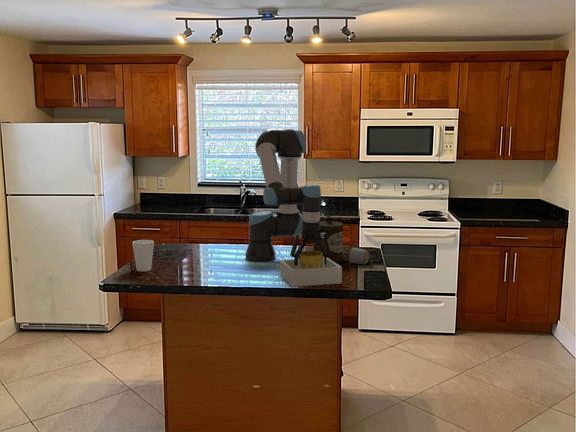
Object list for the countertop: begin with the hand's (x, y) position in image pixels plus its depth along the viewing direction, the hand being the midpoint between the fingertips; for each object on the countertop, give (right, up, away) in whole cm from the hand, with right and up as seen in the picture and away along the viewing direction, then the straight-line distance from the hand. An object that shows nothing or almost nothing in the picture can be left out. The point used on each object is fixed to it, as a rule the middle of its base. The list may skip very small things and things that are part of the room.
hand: (310, 272), depth 233 cm
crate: (0, -3, 0) cm, 3 cm away
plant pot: (0, -2, 0) cm, 2 cm away
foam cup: (-75, -1, +14) cm, 77 cm away
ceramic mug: (+25, +1, +33) cm, 41 cm away
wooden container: (+10, +2, +41) cm, 43 cm away
